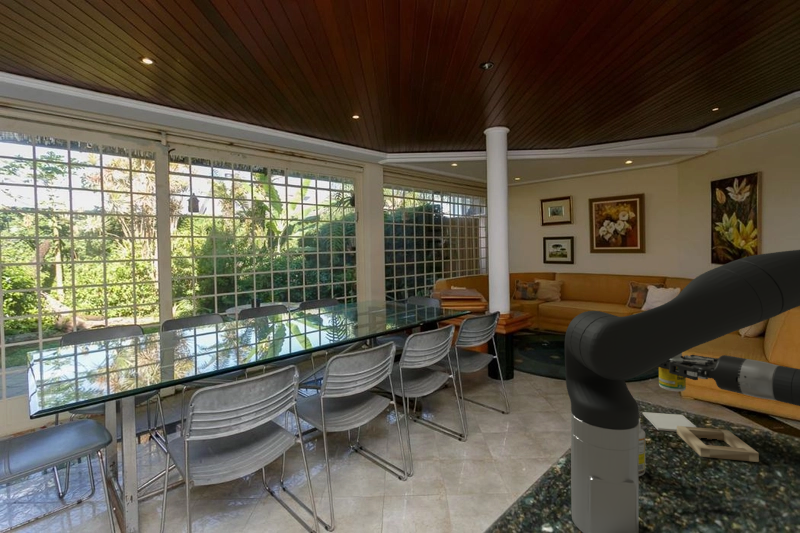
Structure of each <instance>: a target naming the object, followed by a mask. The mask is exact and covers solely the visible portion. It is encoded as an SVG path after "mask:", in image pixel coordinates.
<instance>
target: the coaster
mask: <svg viewBox="0 0 800 533" xmlns="http://www.w3.org/2000/svg"><path fill="white" fill-rule="evenodd" d="M642 415H643V416H644V417H645V418H646V419H647V421H648V422H649V423H651V425H653V427H655V429H656V430H657V431H664V432H665V431H667V432H675V433H677V426H685V427H697V426H696V425H695V424H694V423H692V422H691V421H690V420H689V419H688V418H687V417H685V416H684V415H683V414H676V413H659V412H645V411H643V412H642Z"/></svg>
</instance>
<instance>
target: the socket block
mask: <svg viewBox="0 0 800 533" xmlns="http://www.w3.org/2000/svg"><path fill="white" fill-rule="evenodd" d="M676 435H678V436H679V437H680V438H681V439H682V441H684V442H685V443H686V444H687V445H688V446H689V447H690V448H691V449H692V450H693V451H694V452H695V453H696V454H697V455H698V456H699V457H702V458H703V457H704V458H712V459H713V458H714V459H722V460H723V459H725V460H734V461H744V462H746V461H747V462H753V463H754V462H755V463H759V462H760V459H759V456H760V453H759V452H758V451H756V449H754V448H753V447H751V446H750V445H748V444H747V443H746V442H744V441H743V440H742V439H740V438H739V437H738V436H736V435H735V434H733V432H731V431H730V430H728V429H722V428H710V427H698V426H696V427H685V426H677V432H676ZM701 438H707V439H706V440H712V439H717V440H716V441H724V443H725V444H727V445H729V446H721V445H711V444H705V443H704V442H703V441H702V440H701Z"/></svg>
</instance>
